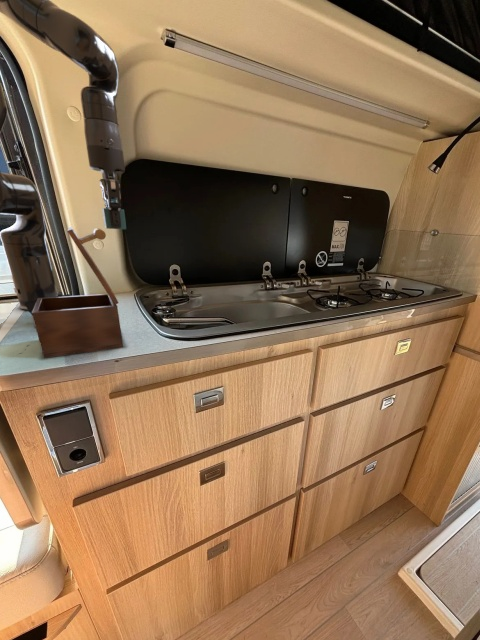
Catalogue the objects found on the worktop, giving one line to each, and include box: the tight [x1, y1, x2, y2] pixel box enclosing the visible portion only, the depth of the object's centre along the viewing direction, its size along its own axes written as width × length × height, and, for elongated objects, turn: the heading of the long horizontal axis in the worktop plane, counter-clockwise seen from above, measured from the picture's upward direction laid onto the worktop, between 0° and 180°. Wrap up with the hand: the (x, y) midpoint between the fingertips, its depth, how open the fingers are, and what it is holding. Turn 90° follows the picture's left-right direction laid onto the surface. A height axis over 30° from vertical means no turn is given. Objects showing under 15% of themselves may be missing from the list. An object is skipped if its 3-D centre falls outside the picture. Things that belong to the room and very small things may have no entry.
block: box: [101, 207, 127, 230], centre depth 73 cm, size 4×4×4 cm
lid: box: [67, 226, 119, 305], centre depth 58 cm, size 14×12×5 cm
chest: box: [31, 293, 124, 359], centre depth 60 cm, size 14×12×9 cm
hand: (115, 226), depth 74 cm, fingers closed on block, 4 cm apart
